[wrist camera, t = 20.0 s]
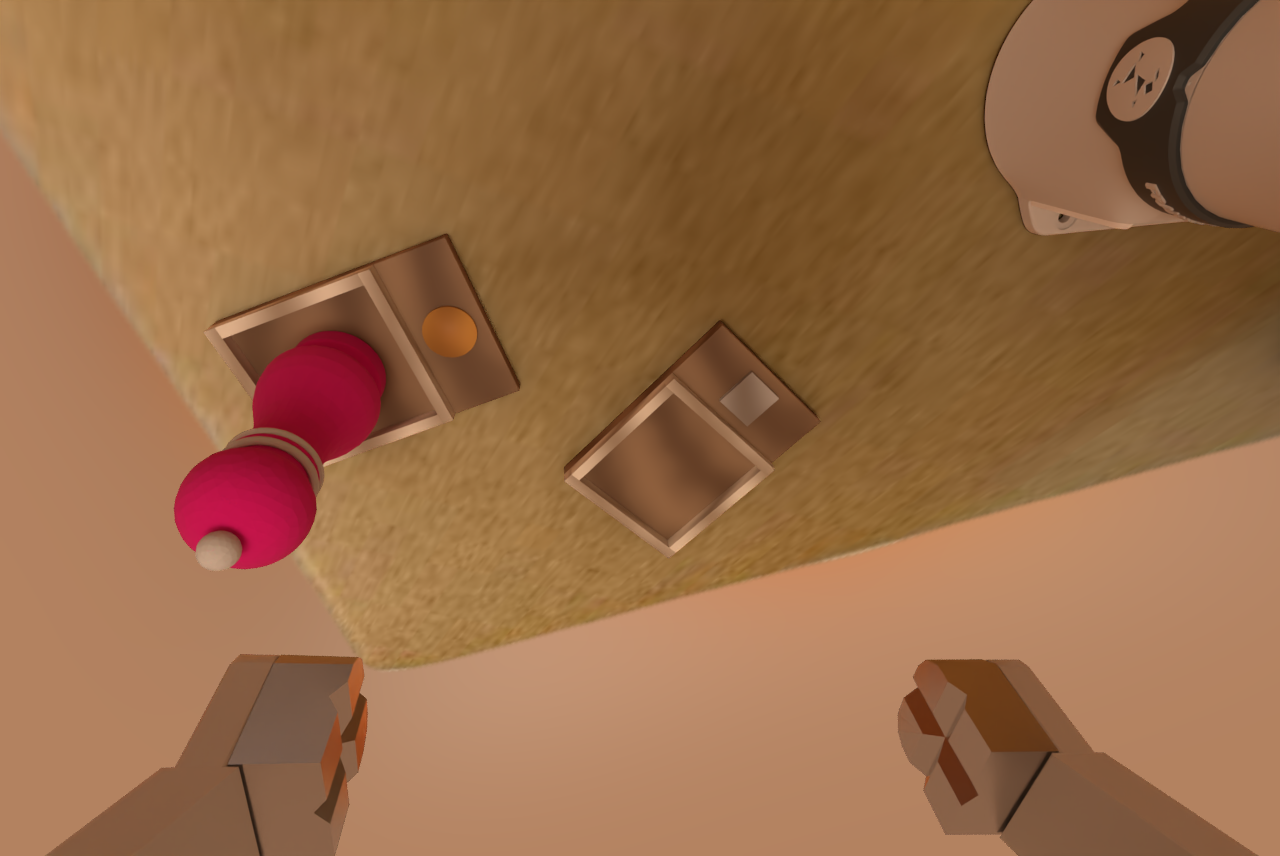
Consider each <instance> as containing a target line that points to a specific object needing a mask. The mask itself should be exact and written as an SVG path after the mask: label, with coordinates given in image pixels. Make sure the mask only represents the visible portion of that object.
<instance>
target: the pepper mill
mask: <svg viewBox="0 0 1280 856" xmlns="http://www.w3.org/2000/svg"><path fill="white" fill-rule="evenodd" d="M385 385H386V373H385V369H384V366H383V363H382V361H381V359H380V358H379V356H378V355H377V353H376V352H375V351H374V350H373V349H372V348H371V347H370V346H369V345H368V344H367V343H365V342H364V341H363V340H361V339H359V338H357V337H356V336H353V335H350V334H347V333H344V332H339V331H322V332H317V333H314V334H312V335H309V336H308V337H306V338H304V339H303V340H302V341H301V342H299V343H298V345H297V346H296V347H295V348H293V349H290V350H287V351H285V352H284V353H282V354H280V355H279V356H277V357H276V358H274V359H273V360H272V361H271V362H270V363H269V364H268V365H267V367H266V368H265V370H264V372H263V373H262V375H261V376H260V378H259V380H258V382H257V385H256V388H255V392H254V397H253V405H252V407H253V418H254V428H253V429H250V430H247V431H244V432H242V433H240V434H238V435H237V436H235V437H234V438H233V439H232V440H231V441H230V442H229V443H228V444H227V446H226V448H224V449H223V450H222V451H220V452H217V453H214V454H212V455H211V456H209V457H208V458H206V459H204V460H203V461H201V462H200V463H198V464H197V465H196V466H195V467H194V468H193V469H192V470H191V471H190V472H189V474H188V475H187V476H186V478H185V479H184V480H183V482H182V484H181V486H180V488H179V491H178V494H177V496H176V499H175V506H174V514H175V523H176V525H177V528H178V530H179V532H180V534H181V536H182V538H183V540H184V541H185V542H186V544H187V545H188V546H189V547H190V548H191V549H192V550H194V551H195V552H196V553H195V554H196V559H197V561H198V563H199V564H200V565H201V566H203V567H204V568H206V569H208V570H212V571H222V570H225V569H228V568H237V569H251V568H258V567H263V566H267V565H269V564H272V563H275V562H277V561H279V560H281V559H283V558H284V557H286V556H287V555H289V554H290V553H291V552H293V551H294V550H295V549H296V548H297V547H298V546H299V545H300V544H301V543H302V542H303V540H304V539H305V538H306V536H307V535H308V533H309V531H310V529H311V527H312V525H313V522H314V519H315V514H316V510H317V509H316V497H317V494H318V492H319V491H320V489H321V487H322V485H323V481H324V468H323V464H324V463H325V462H327V461H330V460H333V459H336V458H338V457H341V456H343V455H345V454H347V453H349V452H350V451H352V450H353V449H354V448H356V447H357V446H359V445H360V444H361V443H362V442H363V441H364V440H365V439H366V438H367V437H368V436H369V434H370V433H371V431H372V430H373V428H374V427H375V425H376V423H377V421H378V418H379V414H380V407H381V400H380V398H381V396H382V394H383V392H384V389H385Z"/></svg>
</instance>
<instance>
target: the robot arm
mask: <svg viewBox="0 0 1280 856" xmlns="http://www.w3.org/2000/svg"><path fill="white" fill-rule="evenodd" d="M985 130H986V137H987V142H988V146H989V150H990V153H991V156H992V158H993V160H994V162H995V164H996V166H997V168H998V170H999V171H1000V173H1001V174H1002V175H1003V177H1004V178H1005V179H1006V180H1007V182H1008V183H1009V184H1010V185H1011V186H1012V188H1013V189H1014V191H1015V192H1016V194H1017V196H1018V200H1019V206H1020V211H1021V216H1022V220H1023V223H1024V226H1025V227H1026V229H1027V230H1028V231H1029V232H1031V233H1034V234H1039V235H1056V234H1066V233H1076V232H1086V231H1096V230H1106V229H1115V228H1117V229H1129V228H1130V227H1135V226H1145V225H1155V224H1165V223H1175V222H1185V221H1188V222H1192V223H1196V224H1200V225H1204V224H1206V225H1211V226H1220V227H1226V228H1247V227H1255V226H1256V227H1260V228H1263V229H1267V230H1271V231H1275V232H1279V233H1280V0H1033V1H1032V2H1031V3H1030V4H1029V6H1028V7H1027V8H1026V9H1025V11H1024V12H1023V13H1022V14H1021V16H1020V17H1019V19H1018V20H1017V22H1016V23H1015V25H1014V26H1013V28H1012V29H1011V31H1010V33H1009V35H1008V36H1007V38H1006V40H1005V42H1004V44H1003V46H1002V48H1001V50H1000V52H999V55H998V57H997V59H996V62H995V65H994V68H993V71H992V74H991V77H990V81H989V86H988V90H987V96H986V104H985ZM1060 214H1063V217H1062V218H1061V219H1060V220H1058V217H1059V215H1060ZM913 678H914V681H915V683H916V685H917V688H916V689H915V690H913V691H912V692H911V693H909V694H908V695H907V696H906V697H904V699H903V701H902V704H901V707H900V709H899V712H898V733H899V736H900V740H901V744H902V747H903V749H904V751H905V754H906V756H907V758H908V760H909V762H910V763H911V764H912V765H914V766H915V767H916V768H917V769H919V770H920V771H921V772H922V773H923V774H924V775H926V779H925V785H924V793H925V795H926V796H927V799H928V801H929V802H930V804H931V806H932V808H933V811H934V813H935V815H936V817H937V818H938V820H939V822H940V825H941V826H942V829H943V830H944V833H945V834H946V835H949V834H950V835H951V834H952V835H962V834H963V835H965V834H967V835H968V834H969V835H970V834H1002V835H1001V836H1000V838H1001V839H1002V840H1003V841H1004V842H1005V843H1006V844H1007V845H1008V846H1009V847H1010V848H1011V849H1012V850H1013V851H1014V852H1015V853H1016V854H1017V855H1018V856H1258V855H1256V854H1255V853H1253V852H1252V851H1250V850H1249V849H1247V848H1246V847H1244V846H1243V845H1241V844H1240V843H1238V842H1237V841H1235V840H1234V839H1232V838H1231V837H1229V836H1228V835H1226V834H1225V833H1223V832H1222V831H1220V830H1219V829H1217V828H1216V827H1215V826H1213V825H1212V824H1210V823H1208V822H1207V821H1205V820H1204V819H1202V818H1201V817H1200V816H1198V815H1196V814H1195V813H1194V812H1192V811H1191V810H1189V809H1187V808H1186V807H1184V806H1183V805H1181V804H1180V803H1179V802H1177V801H1176V800H1174V799H1172V798H1171V797H1170V796H1168V795H1167V794H1165V793H1164V792H1162V791H1161V790H1159V789H1158V788H1156V787H1155V786H1153V785H1151V784H1150V783H1149V782H1147V781H1146V780H1144V779H1143V778H1141V777H1140V776H1138V775H1137V774H1135V773H1134V772H1132V771H1131V770H1129V769H1128V768H1126V767H1125V766H1123V765H1122V764H1120V763H1119V762H1117V761H1116V760H1114V759H1113V758H1111V757H1110V756H1108V755H1107V754H1105V753H1098V752H1094V751H1093V750H1092V748H1091V747H1090V746H1089V745H1088V743H1087V742H1086V741H1085V740H1084V738H1083V737H1082V735H1081V734H1080V733H1079V732H1078V730H1077V729H1076V728H1075V726H1074V725H1073V724H1072V722H1071V721H1070V720H1069V719H1068V717H1067V716H1066V715H1065V713H1064V712H1063V711H1062V709H1061V708H1060V707H1059V705H1058V704H1057V703H1056V702H1055V700H1054V699H1053V698H1052V696H1051V695H1050V694H1049V692H1048V691H1047V690H1046V688H1045V687H1044V686H1043V685H1042V683H1041V682H1040V681H1039V679H1038V678H1037V677H1036V676H1035V674H1034V673H1033V672H1032V671H1031V669H1030V668H1029V667H1028V666H1027V665H1026V664H1024V663H1023V662H1021V661H1020V660H982V659H976V660H975V659H973V660H972V659H970V660H925V661H924V662H922V663H921V664H920V665H918V668H917V669H916V672H915V674H914V676H913ZM363 679H364V669H363V662H362V659H361V658H359V657H336V656H304V655H250V654H240V655H239V656H238V657H237V658H236V659H235V660H234V661H233V662H232V663H231V664H230V665H229V667H228V669H227V671H226V672H225V674H224V676H223V678H222V680H221V682H220V684H219V686H218V687H217V689H216V691H215V693H214V695H213V697H212V699H211V701H210V703H209V704H208V706H207V708H206V710H205V712H204V714H203V716H202V718H201V719H200V722H199V723H198V725H197V727H196V729H195V731H194V732H193V734H192V736H191V738H190V740H189V742H188V744H187V746H186V747H185V749H184V751H183V753H182V755H181V757H180V759H179V761H178V762H177V764H176V766H175V767H171V768H161V769H159V770H158V771H157V772H156V773H154V774H153V775H151V776H150V777H149V778H148V779H146V780H145V781H143V782H142V783H141V784H140V785H138V786H137V787H136V788H134V789H133V790H132V791H130V792H129V793H128V794H126V795H125V796H124V797H122V798H121V799H120V800H118V801H117V802H116V803H114V804H113V805H112V806H110V807H109V808H108V809H107V810H105V811H104V812H102V813H101V814H100V815H98V816H97V817H96V818H94V819H93V820H92V821H91V822H89V823H88V824H87V825H85V826H84V827H83V828H81V829H80V830H79V831H77V832H76V833H75V834H73V835H72V836H71V837H69V838H68V839H67V840H66V841H64V842H63V843H61V844H60V845H59V846H57V847H56V848H55V849H53V850H52V851H51V852H49V853H48V854H47V855H45V856H335V853H336V850H337V846H338V843H339V839H340V836H341V832H342V829H343V825H344V822H345V818H346V814H347V811H348V807H349V798H348V790H347V782H348V781H349V780H350V779H351V778H353V777H354V776H355V775H356V774H357V773H358V771H359V767H360V763H361V759H362V755H363V751H364V745H365V739H366V732H367V717H368V716H367V715H368V712H367V699H366V698H365V697H364V696H363V695H361V694H360V689H361V686H362V683H363Z"/></svg>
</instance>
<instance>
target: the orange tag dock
mask: <svg viewBox="0 0 1280 856" xmlns="http://www.w3.org/2000/svg"><path fill="white" fill-rule="evenodd" d="M322 331H339V332H344V333H347V334H350V335H353V336H356V337H357V338H359V339H361V340H363V341H364V342H365V343H367V344H368V345H369V346H370V347H371V348H372V349H373V350H374V351H375V352H376V353H377V355H378V356H379V358H380V359H381V361H382V363H383V366H384V369H385V373H386V385H385V389H384V392H383V394H382V396H381V398H380V400H381V407H380V414H379V418H378V421H377V423H376V425H375V427H374V428H373V430H372V431H371V433H370V434H369V436H368V437H367V438H366V439H365V440H364V441H363V442H362V443H361V444H360V445H359V446H357V447H356V448H354V449H353V450H352V451H350V452H349V453H347V454H345V455H343V456H341V457H338V458H336V459H333V460H330V461H327V462H325V463H324V464H323V467H324V466H327V465H330V464H333V463H335V462H338V461H341V460H344V459H346V458H349V457H352V456H355V455H358V454H360V453H363V452H366V451H369V450H372V449H374V448H377V447H380V446H383V445H385V444H388V443H391V442H394V441H397V440H399V439H402V438H405V437H408V436H411V435H413V434H416V433H419V432H422V431H424V430H427V429H430V428H433V427H436V426H438V425H441V424H444V423H447V422H450V421H452V420H453V419H454V416H455V413H458V412H461V411H464V410H466V409H469V408H472V407H475V406H478V405H480V404H483V403H486V402H489V401H492V400H494V399H497V398H500V397H503V396H505V395H508V394H511V393H514V392H517V391H519V389H520V384H519V382H518V379H517V377H516V375H515V373H514V371H513V369H512V367H511V365H510V363H509V361H508V359H507V357H506V355H505V353H504V351H503V348H502V346H501V344H500V342H499V340H498V338H497V336H496V334H495V332H494V330H493V328H492V326H491V324H490V322H489V320H488V317H487V315H486V313H485V311H484V309H483V307H482V305H481V303H480V301H479V299H478V297H477V295H476V293H475V291H474V289H473V287H472V284H471V282H470V280H469V278H468V276H467V274H466V272H465V270H464V268H463V266H462V264H461V262H460V260H459V258H458V256H457V253H456V251H455V249H454V247H453V245H452V243H451V241H450V239H449V237H448V235H447V234H445V235H442V236H440V237H437V238H434V239H432V240H429V241H426V242H424V243H421V244H419V245H416V246H413V247H411V248H408V249H405V250H403V251H400V252H398V253H395V254H392V255H390V256H387V257H384V258H382V259H379V260H377V261H374V262H371V263H369V264H366V265H363V266H361V267H358V268H356V269H353V270H350V271H348V272H345V273H342V274H340V275H337V276H335V277H332V278H329V279H327V280H324V281H321V282H319V283H316V284H314V285H311V286H308V287H306V288H303V289H300V290H298V291H295V292H292V293H290V294H287V295H285V296H282V297H279V298H277V299H274V300H271V301H269V302H266V303H264V304H261V305H258V306H256V307H253V308H250V309H248V310H245V311H243V312H240V313H237V314H235V315H232V316H229V317H227V318H224V319H222V320H219V321H217V322H215V323H214V324H213V325H212V326H210V327H209V328H208V329H207V330H205V331H204V334H205V335H206V337H207V338H208V339H209V341H210V342H211V343H212V345H213V346H214V348H215V349H216V350H217V352H218V353H219V355H220V356H221V357H222V359H223V360H224V361H225V363H226V364H227V366H228V367H229V368H230V370H231V371H232V373H233V374H234V375H235V377H236V378H237V380H238V381H239V382H240V384H241V385H242V386H243V388H244V389H245V391H246V392H247V393H248V395H249V396H250V398H251V399H252V400H253V397H254V392H255V388H256V385H257V382H258V380H259V378H260V376H261V375H262V373H263V372H264V370H265V368H266V367H267V365H268V364H269V363H270V362H271V361H272V360H273V359H274V358H276V357H277V356H279V355H280V354H282V353H284V352H285V351H287V350H290V349H293V348H295V347H296V346H297V345H298V343H299V342H301V341H302V340H303V339H304V338H306V337H308V336H309V335H312V334H314V333H317V332H322Z"/></svg>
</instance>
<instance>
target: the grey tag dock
mask: <svg viewBox="0 0 1280 856" xmlns="http://www.w3.org/2000/svg"><path fill="white" fill-rule="evenodd" d="M819 423H820V420H819V419H818V417H817V416H816V415H815V414H814V413H813V412H812V411H811V410H810V409H809V408H808V407H807V406H806V405H805V404H804V403H803V402H802V401H801V400H800V399H799V398H798V397H797V396H796V395H795V394H794V393H793V392H792V391H791V390H790V389H789V388H788V387H787V386H786V385H785V384H784V383H783V382H782V381H781V380H780V379H779V378H778V377H777V376H776V375H775V374H774V373H773V372H772V371H771V370H770V369H769V368H768V367H767V366H766V365H765V364H764V363H763V362H762V361H761V360H760V359H759V358H758V357H757V356H756V355H755V354H754V353H753V352H752V351H751V350H750V349H748V348H747V347H746V346H745V345H744V344H743V343H742V342H741V341H740V340H739V339H738V338H737V337H736V336H735V335H734V334H733V333H732V332H731V331H730V330H729V329H728V328H727V327H726V326H725V325H724V324H723V323H722V322H721V321H719V322H718V323H717V324H716V325H714V326H713V327H712V328H711V329H710V330H709V331H708V332H707V333H706V334H705V335H704V336H703V337H702V338H701V339H700V340H699V341H697V342H696V343H695V344H694V345H693V346H692V347H691V348H690V349H689V350H688V351H687V352H686V353H685V354H684V355H683V356H682V357H681V358H679V359H678V360H677V361H676V362H675V363H674V364H673V365H672V366H671V367H670V368H669V369H668V370H667V371H666V372H665V373H664V374H663V375H661V376H660V377H659V378H658V379H657V380H656V381H655V382H654V383H653V384H652V385H651V386H650V387H649V388H648V389H647V390H646V391H644V392H643V393H642V394H641V395H640V396H639V397H638V398H637V399H636V400H635V401H634V402H633V403H632V404H631V405H630V406H629V407H628V408H626V409H625V410H624V411H623V412H622V413H621V414H620V415H619V416H618V417H617V418H616V419H615V420H614V421H613V422H612V423H611V424H610V425H608V426H607V427H606V428H605V429H604V430H603V431H602V432H601V433H600V434H599V435H598V436H597V437H596V438H595V439H594V440H593V441H591V442H590V443H589V444H588V445H587V446H586V447H585V448H584V449H583V450H582V451H581V452H580V453H579V454H578V455H577V456H576V457H575V458H573V459H572V460H571V461H570V462H569V463H568V464H567V465H566V466H565V467H564V481H565V482H566V483H567V484H569V485H570V486H571V487H573V488H574V489H575V490H577V491H578V492H580V493H581V494H582V495H584V496H585V497H586V498H588V499H589V500H590V501H592V502H593V503H594V504H596V505H597V506H598V507H600V508H601V509H603V510H604V511H605V512H607V513H608V514H609V515H611V516H612V517H613V518H615V519H616V520H617V521H619V522H620V523H621V524H623V525H624V526H626V527H627V528H628V529H630V530H631V531H632V532H634V533H635V534H636V535H638V536H639V537H640V538H642V539H643V540H644V541H646V542H647V543H649V544H650V545H651V546H653V547H654V548H655V549H657V550H658V551H659V552H661V553H662V554H663V555H665V556H666V557H667V558H670V557H671V556H672V555H674V554H675V553H676V552H677V551H678V550H680V549H681V548H682V547H683V546H684V545H686V544H687V543H688V542H689V541H690V540H692V539H693V538H694V537H695V536H696V535H697V534H699V533H700V532H701V531H702V530H703V529H705V528H706V527H707V526H708V525H709V524H711V523H712V522H713V521H714V520H715V519H717V518H718V517H719V516H720V515H721V514H723V513H724V512H725V511H726V510H727V509H729V508H730V507H731V506H732V505H733V504H735V503H736V502H737V501H738V500H739V499H741V498H742V497H743V496H744V495H745V494H747V493H748V492H749V491H750V490H751V489H753V488H754V487H755V486H756V485H757V484H759V483H760V482H761V481H762V480H763V479H765V478H766V477H767V476H768V475H769V474H771V473H772V472H773V471H774V470H775V469H774V467H773V465H772V462H773V461H775V460H776V459H777V458H778V457H779V456H780V455H782V454H783V453H784V452H785V451H786V450H788V449H789V448H790V447H791V446H792V445H794V444H795V443H796V442H797V441H798V440H799V439H801V438H802V437H803V436H804V435H805V434H807V433H808V432H809V431H810V430H811V429H813V428H814V427H815V426H816V425H817V424H819Z"/></svg>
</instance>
